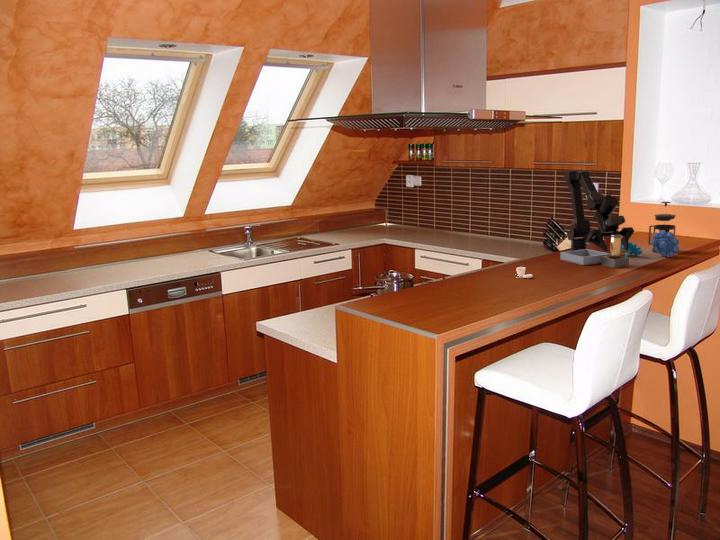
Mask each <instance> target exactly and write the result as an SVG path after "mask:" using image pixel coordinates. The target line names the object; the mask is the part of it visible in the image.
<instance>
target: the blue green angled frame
mask: <svg viewBox="0 0 720 540" xmlns="http://www.w3.org/2000/svg"><path fill="white" fill-rule="evenodd" d="M637 246H638V244H637V243H633V242H632V241H628V250H626V249H625V248H624V246H623V245H622V243H621V253H620V255H621V254H624V253H625V256H624V257H628V258H629V255H630V256H633V255H634V256H641V255H642V254H643V250H642V247H640V246H638V247H637Z"/></svg>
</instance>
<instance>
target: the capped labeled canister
mask: <svg viewBox="0 0 720 540" xmlns="http://www.w3.org/2000/svg"><path fill="white" fill-rule="evenodd" d="M609 253H610V258H612V259H619V258H620V256H621V254H622V253H621V235H620V234H612V235H611V237H610V251H609ZM620 253H621V254H620Z"/></svg>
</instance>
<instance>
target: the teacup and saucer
mask: <svg viewBox="0 0 720 540" xmlns="http://www.w3.org/2000/svg"><path fill="white" fill-rule="evenodd" d="M516 273H517V274H518V275H517V276H519V277H518V278H527V279H531V278H533V275H534V274H531V273H528V274H526V266H525V267H524V266H518V267H516ZM525 274H526V275H525Z"/></svg>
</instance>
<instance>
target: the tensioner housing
mask: <svg viewBox="0 0 720 540" xmlns="http://www.w3.org/2000/svg"><path fill="white" fill-rule="evenodd" d="M600 265H601V266H605V267H609V268H614V269H616V268H623V267H624V268H625V267H629V265H630V257H629V256H628V257H625V256H622V255H620V258H619V259H612V258H610V256H604V257H601V263H600Z"/></svg>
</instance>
